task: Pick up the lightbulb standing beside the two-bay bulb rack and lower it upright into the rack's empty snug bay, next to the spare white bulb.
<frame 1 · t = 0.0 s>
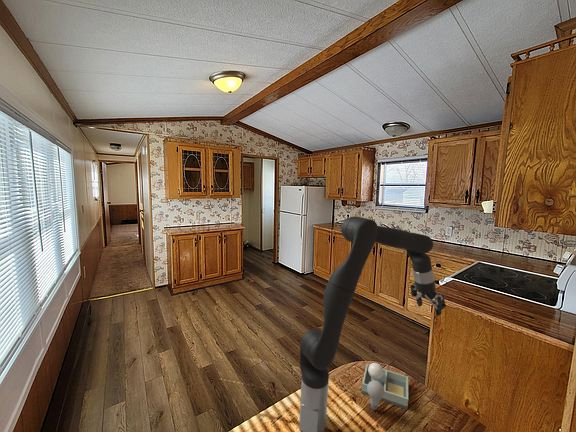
hand: (429, 309, 111), 31 cm above the table, tool tilted 20°, fingers open, 8 cm apart
bulb rack: (384, 389, 107), on the table
lightbulb: (373, 409, 98), on the table
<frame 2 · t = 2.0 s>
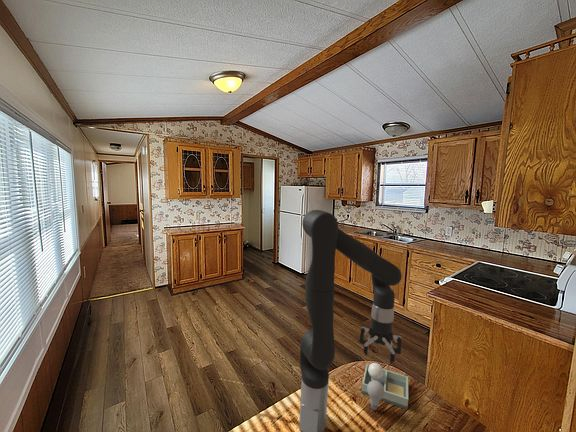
hand: (378, 358, 95), 21 cm above the table, tool pointing down, fingers open, 8 cm apart
nothing on the table moved.
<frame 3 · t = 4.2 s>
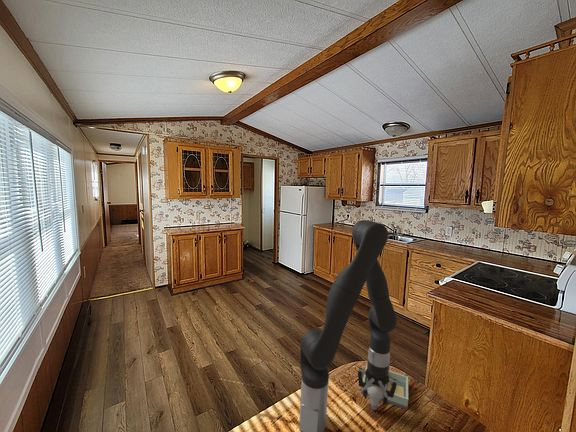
hand: (374, 400, 97), 4 cm above the table, tool pointing down, fingers closed on lightbulb, 6 cm apart
lightbulb: (373, 409, 98), on the table, touching gripper
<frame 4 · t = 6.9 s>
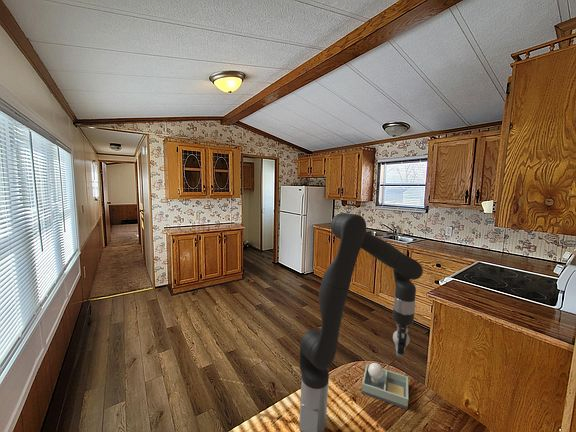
hand: (400, 348, 102), 20 cm above the table, tool pointing down, fingers closed on lightbulb, 6 cm apart
lightbulb: (399, 357, 103), point 16 cm above the table, touching gripper
when the fingers open (5 cm above the table, at t = 10.0 s): lightbulb stays where it is, resting on bulb rack.
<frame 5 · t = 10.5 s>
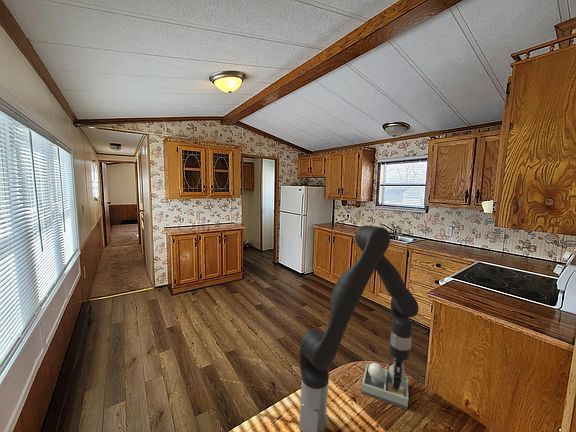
hand: (396, 380, 105), 5 cm above the table, tool pointing down, fingers open, 8 cm apart
lightbulb: (395, 390, 105), point 1 cm above the table, touching bulb rack
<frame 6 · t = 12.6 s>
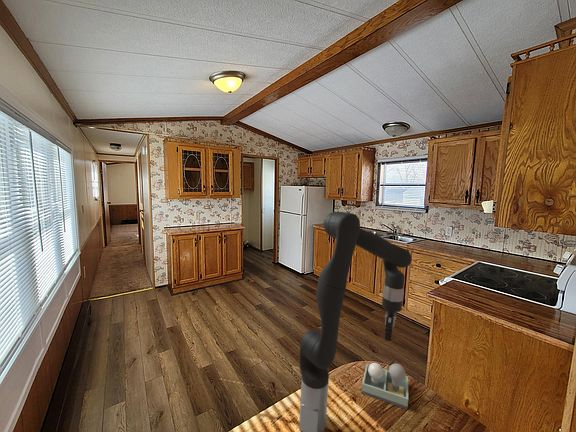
hand: (388, 334, 105), 24 cm above the table, tool pointing down, fingers open, 8 cm apart
nothing on the table moved.
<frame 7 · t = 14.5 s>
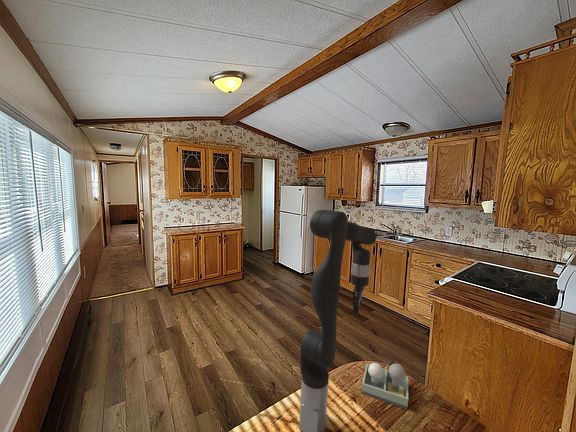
hand: (357, 308, 113), 30 cm above the table, tool pointing down, fingers open, 8 cm apart
nothing on the table moved.
at the end: lightbulb 0.1 cm from the target spot on the bulb rack, point 1.1 cm above the bulb rack's base; lightbulb tilted 0°; the gripper is holding nothing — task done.
